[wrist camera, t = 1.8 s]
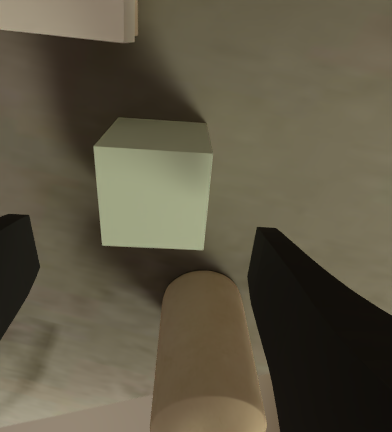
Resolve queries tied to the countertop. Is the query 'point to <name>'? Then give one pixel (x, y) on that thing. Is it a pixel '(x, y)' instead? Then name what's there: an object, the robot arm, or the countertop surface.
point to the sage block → (153, 183)
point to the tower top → (71, 18)
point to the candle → (205, 360)
